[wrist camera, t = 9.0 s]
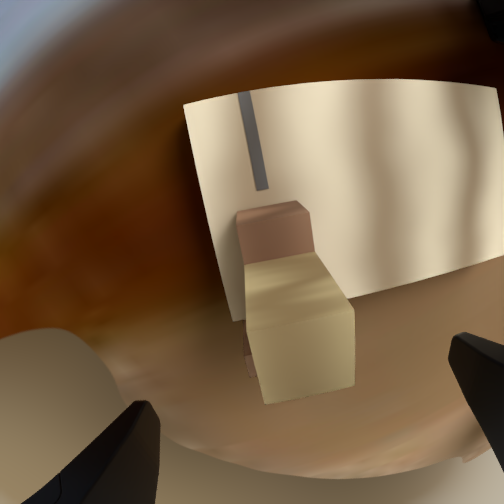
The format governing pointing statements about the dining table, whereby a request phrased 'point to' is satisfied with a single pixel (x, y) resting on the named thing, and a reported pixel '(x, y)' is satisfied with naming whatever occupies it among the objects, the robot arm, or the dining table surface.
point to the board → (357, 175)
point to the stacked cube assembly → (292, 307)
